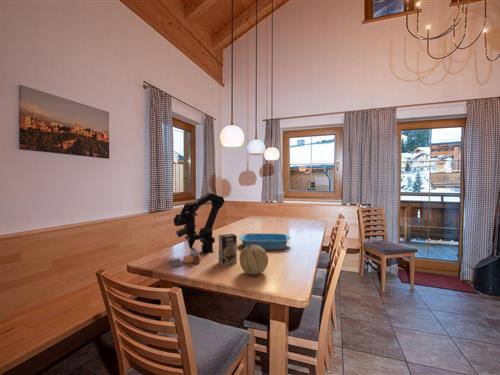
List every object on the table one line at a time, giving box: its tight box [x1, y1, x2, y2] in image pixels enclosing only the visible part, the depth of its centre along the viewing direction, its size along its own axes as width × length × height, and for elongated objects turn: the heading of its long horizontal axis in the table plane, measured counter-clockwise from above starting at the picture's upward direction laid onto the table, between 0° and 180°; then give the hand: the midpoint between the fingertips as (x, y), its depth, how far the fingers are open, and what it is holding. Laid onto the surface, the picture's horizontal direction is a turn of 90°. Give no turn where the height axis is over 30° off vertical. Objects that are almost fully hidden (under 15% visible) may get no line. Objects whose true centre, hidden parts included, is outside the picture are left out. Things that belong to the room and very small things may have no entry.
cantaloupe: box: [239, 245, 269, 276], centre depth 120 cm, size 15×15×15 cm
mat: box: [168, 258, 184, 268], centre depth 134 cm, size 6×10×1 cm, turn 30°
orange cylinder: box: [183, 255, 202, 265], centre depth 137 cm, size 9×4×4 cm, turn 120°
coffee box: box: [218, 233, 238, 266], centre depth 136 cm, size 9×6×16 cm
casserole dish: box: [239, 232, 291, 250], centre depth 170 cm, size 37×22×7 cm, turn 85°
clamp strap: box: [189, 247, 201, 257], centre depth 138 cm, size 2×10×2 cm, turn 30°
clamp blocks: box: [190, 252, 200, 265], centre depth 138 cm, size 2×9×4 cm, turn 30°
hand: (190, 248), depth 145 cm, fingers closed
